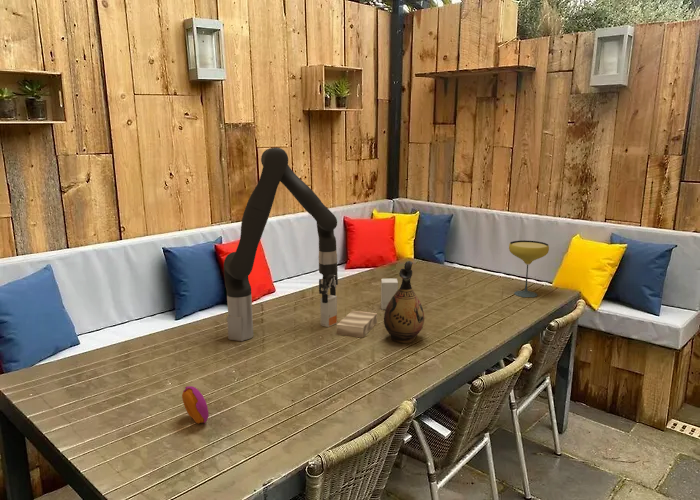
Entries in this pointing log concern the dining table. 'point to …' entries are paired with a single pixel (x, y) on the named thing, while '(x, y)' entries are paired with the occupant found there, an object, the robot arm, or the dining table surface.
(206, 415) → the donut
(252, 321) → the robot arm
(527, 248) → the cocktail glass
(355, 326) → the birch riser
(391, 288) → the supplement box
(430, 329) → the dining table surface
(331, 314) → the skincare box
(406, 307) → the ceramic jug
